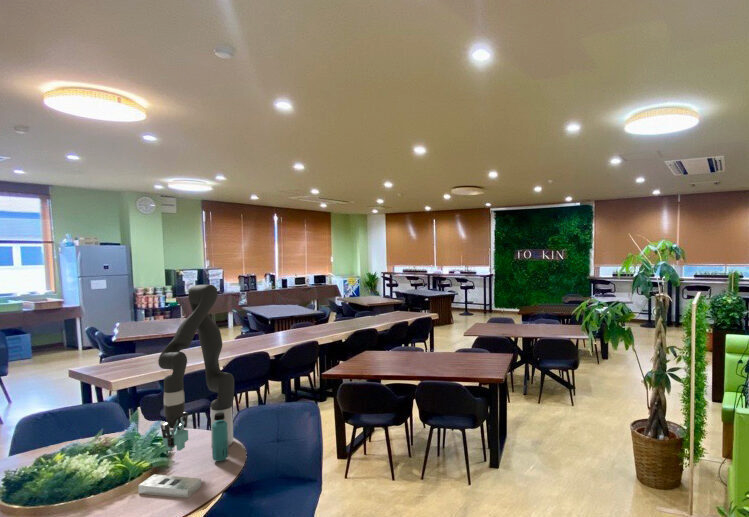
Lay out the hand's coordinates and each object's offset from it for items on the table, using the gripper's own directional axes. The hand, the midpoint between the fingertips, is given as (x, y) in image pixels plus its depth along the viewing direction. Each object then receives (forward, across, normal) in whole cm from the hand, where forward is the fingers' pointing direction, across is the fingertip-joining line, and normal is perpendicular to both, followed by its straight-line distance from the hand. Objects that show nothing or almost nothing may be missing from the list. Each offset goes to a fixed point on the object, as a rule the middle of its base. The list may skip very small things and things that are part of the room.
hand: (175, 443), depth 168 cm
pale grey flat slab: (+12, +12, +6) cm, 17 cm away
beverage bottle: (+13, -12, +12) cm, 21 cm away
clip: (+2, 0, 0) cm, 2 cm away
